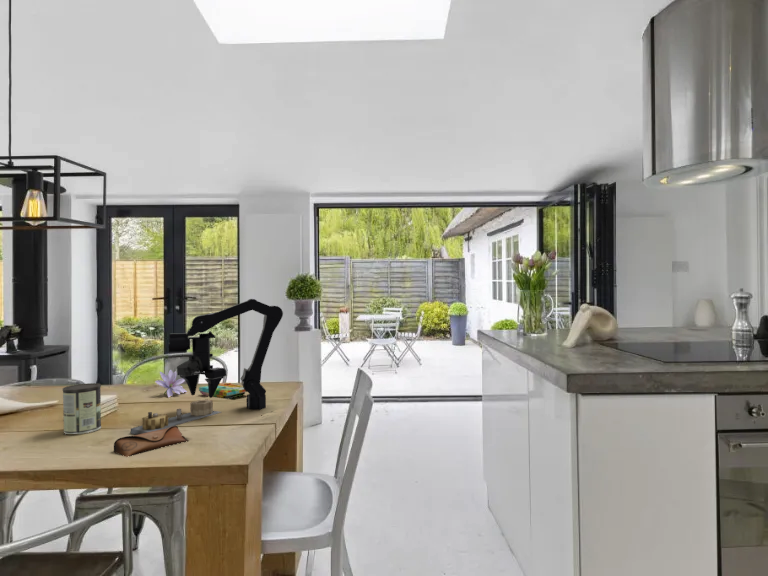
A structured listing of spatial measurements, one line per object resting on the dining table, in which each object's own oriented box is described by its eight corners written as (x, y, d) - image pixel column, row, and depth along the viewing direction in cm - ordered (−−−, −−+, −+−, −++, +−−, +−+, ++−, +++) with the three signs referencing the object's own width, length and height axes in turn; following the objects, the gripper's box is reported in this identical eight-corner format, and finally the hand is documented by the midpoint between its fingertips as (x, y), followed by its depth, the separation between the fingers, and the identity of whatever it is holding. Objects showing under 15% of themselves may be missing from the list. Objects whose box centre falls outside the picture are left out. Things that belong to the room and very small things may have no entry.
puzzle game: (223, 380, 207) (250, 385, 194) (223, 391, 207) (251, 396, 194) (198, 385, 197) (226, 390, 185) (199, 396, 197) (226, 402, 185)
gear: (216, 412, 162) (216, 400, 162) (200, 417, 156) (200, 405, 156) (203, 410, 166) (203, 398, 166) (186, 414, 160) (186, 403, 160)
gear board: (222, 416, 162) (221, 398, 163) (150, 437, 139) (150, 416, 139) (202, 413, 167) (202, 395, 167) (130, 433, 144) (130, 413, 144)
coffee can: (82, 425, 154) (82, 382, 154) (108, 426, 152) (108, 383, 152) (54, 434, 144) (54, 389, 144) (81, 436, 142) (81, 390, 142)
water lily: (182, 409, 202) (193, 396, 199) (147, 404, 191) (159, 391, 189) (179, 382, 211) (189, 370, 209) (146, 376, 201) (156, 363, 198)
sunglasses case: (125, 457, 122) (120, 433, 124) (116, 466, 126) (111, 442, 128) (191, 440, 136) (185, 419, 138) (181, 448, 139) (176, 427, 142)
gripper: (163, 353, 159) (163, 398, 159) (200, 355, 150) (200, 404, 150) (190, 349, 169) (191, 392, 168) (227, 351, 159) (227, 397, 159)
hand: (201, 396), depth 161 cm, fingers open, 9 cm apart
